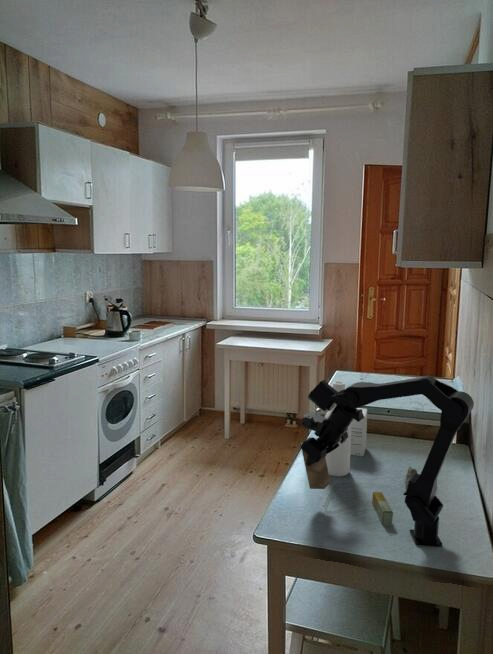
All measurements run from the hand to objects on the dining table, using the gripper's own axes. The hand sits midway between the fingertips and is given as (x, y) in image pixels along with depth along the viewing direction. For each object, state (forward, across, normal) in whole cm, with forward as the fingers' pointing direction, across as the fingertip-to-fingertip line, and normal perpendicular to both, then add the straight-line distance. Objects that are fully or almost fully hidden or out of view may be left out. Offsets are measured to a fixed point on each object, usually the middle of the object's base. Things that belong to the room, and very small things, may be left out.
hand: (311, 462), depth 144 cm
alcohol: (+12, -24, +4) cm, 27 cm away
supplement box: (+14, -43, +2) cm, 45 cm away
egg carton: (0, -29, +26) cm, 39 cm away
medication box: (+2, -6, +23) cm, 24 cm away
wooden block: (+4, 0, +6) cm, 7 cm away
